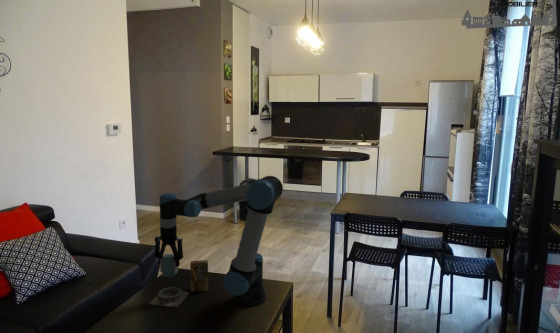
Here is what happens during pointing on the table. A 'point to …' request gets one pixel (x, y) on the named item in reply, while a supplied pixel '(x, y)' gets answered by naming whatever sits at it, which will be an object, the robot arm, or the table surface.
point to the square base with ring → (169, 297)
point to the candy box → (199, 275)
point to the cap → (168, 265)
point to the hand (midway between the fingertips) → (169, 271)
